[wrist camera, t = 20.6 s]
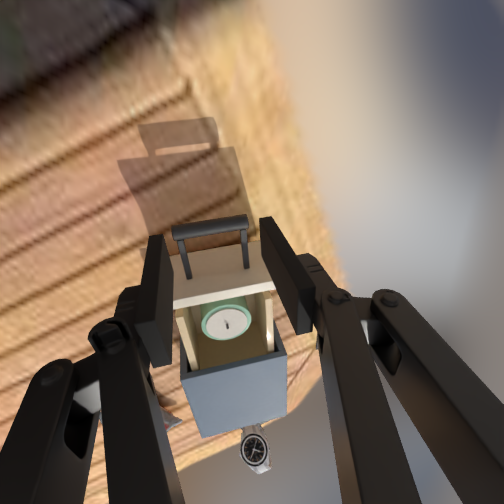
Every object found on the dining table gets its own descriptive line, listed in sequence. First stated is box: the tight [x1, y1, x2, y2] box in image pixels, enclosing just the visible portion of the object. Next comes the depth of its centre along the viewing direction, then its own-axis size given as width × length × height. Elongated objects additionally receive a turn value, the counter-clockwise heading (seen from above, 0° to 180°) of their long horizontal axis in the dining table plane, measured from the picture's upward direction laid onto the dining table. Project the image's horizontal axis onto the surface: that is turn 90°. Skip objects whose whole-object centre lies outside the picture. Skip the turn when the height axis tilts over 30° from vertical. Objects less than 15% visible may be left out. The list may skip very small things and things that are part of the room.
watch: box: [239, 421, 272, 474], centre depth 51 cm, size 6×8×11 cm
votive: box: [199, 295, 251, 340], centre depth 33 cm, size 6×6×6 cm
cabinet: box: [180, 319, 287, 438], centre depth 40 cm, size 15×13×10 cm
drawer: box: [169, 214, 276, 372], centre depth 32 cm, size 20×11×8 cm, turn 4°
